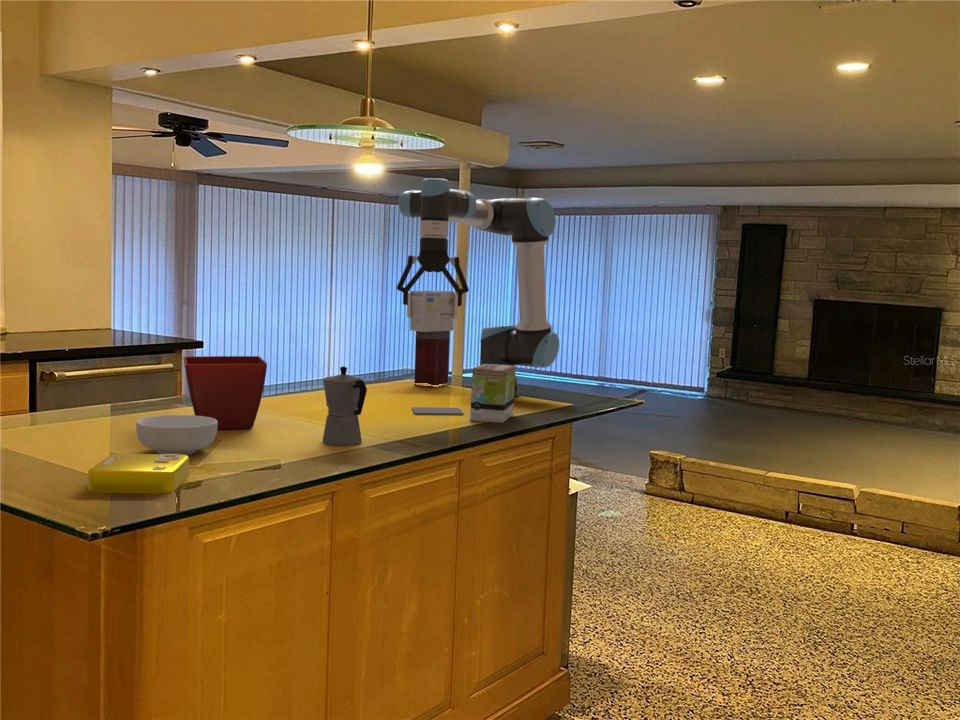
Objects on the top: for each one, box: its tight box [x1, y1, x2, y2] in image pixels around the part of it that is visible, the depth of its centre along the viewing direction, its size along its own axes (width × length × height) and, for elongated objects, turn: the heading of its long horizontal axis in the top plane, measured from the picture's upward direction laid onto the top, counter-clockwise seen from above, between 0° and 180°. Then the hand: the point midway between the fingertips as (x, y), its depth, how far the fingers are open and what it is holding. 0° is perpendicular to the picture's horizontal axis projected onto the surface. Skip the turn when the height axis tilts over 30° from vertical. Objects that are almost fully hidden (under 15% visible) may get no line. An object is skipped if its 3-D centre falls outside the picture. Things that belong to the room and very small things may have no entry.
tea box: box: [469, 364, 516, 424], centre depth 248 cm, size 15×10×15 cm
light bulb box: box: [409, 290, 455, 332], centre depth 238 cm, size 11×7×11 cm, turn 135°
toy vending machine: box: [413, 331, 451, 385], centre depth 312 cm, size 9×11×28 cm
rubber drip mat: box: [411, 406, 464, 416], centre depth 255 cm, size 10×14×1 cm
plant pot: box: [183, 355, 268, 430], centre depth 222 cm, size 19×19×17 cm
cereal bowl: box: [135, 414, 218, 456], centre depth 191 cm, size 17×17×7 cm
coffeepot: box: [322, 365, 368, 447], centre depth 206 cm, size 15×9×18 cm, turn 43°
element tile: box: [87, 453, 190, 495], centre depth 164 cm, size 15×15×5 cm
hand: (432, 318), depth 238 cm, fingers closed on light bulb box, 12 cm apart
